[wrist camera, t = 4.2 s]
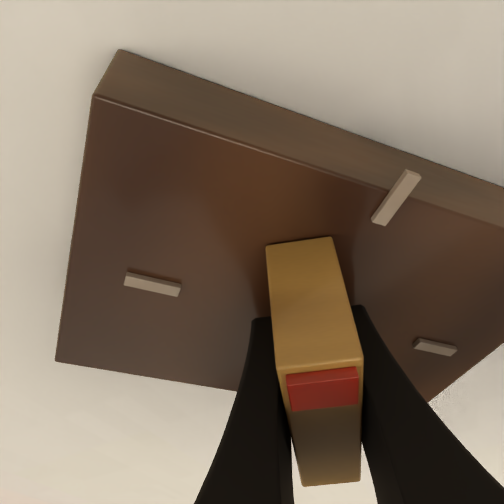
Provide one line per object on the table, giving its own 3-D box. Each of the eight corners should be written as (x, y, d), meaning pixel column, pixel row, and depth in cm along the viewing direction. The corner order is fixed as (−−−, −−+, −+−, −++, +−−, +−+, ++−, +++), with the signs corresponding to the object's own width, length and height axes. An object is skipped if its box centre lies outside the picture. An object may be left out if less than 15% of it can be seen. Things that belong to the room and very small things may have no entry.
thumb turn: (338, 372, 14) (363, 491, 12) (289, 377, 14) (303, 497, 12) (331, 234, 10) (368, 370, 8) (265, 244, 10) (276, 380, 8)
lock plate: (570, 189, 13) (632, 250, 11) (381, 371, 19) (399, 431, 17) (122, 19, 9) (94, 63, 7) (73, 311, 16) (50, 377, 14)
